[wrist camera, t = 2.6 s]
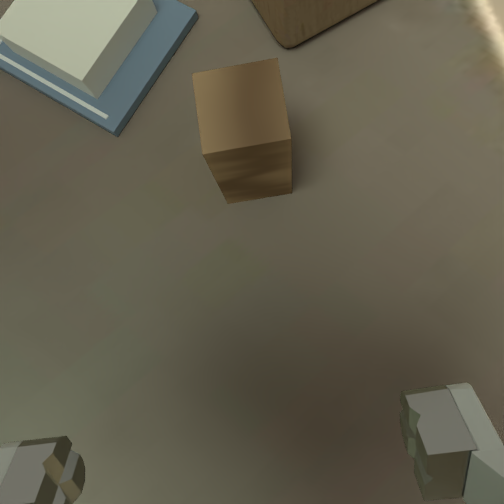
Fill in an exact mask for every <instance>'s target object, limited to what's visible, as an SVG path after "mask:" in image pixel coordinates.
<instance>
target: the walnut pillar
mask: <svg viewBox="0 0 504 504" xmlns="http://www.w3.org/2000/svg"><path fill="white" fill-rule="evenodd" d="M192 78H193V86H194V93H195V101H196V109H197V116H198V124H199V131H200V139H201V146H202V154H203V156H204V158H205V160H206V162H207V164H208V166H209V168H210V170H211V172H212V174H213V176H214V178H215V180H216V182H217V183H218V185H219V187H220V189H221V191H222V193H223V195H224V197H225V199H226V201H227V203H228V204H230V203H236V202H242V201H248V200H254V199H260V198H266V197H272V196H278V195H284V194H290V193H292V152H291V134H290V128H289V122H288V116H287V110H286V105H285V99H284V93H283V87H282V81H281V76H280V70H279V64H278V58H273V59H268V60H262V61H257V62H251V63H246V64H241V65H235V66H230V67H225V68H219V69H214V70H208V71H203V72H198V73H192Z"/></svg>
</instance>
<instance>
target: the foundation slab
mask: <svg viewBox="0 0 504 504" xmlns="http://www.w3.org/2000/svg"><path fill="white" fill-rule="evenodd" d="M156 14H157V10H156V8H155V5H154V3H153V1H152V0H14V2H13V3H12V4H11V6H10V7H9V8H8V10H7V11H6V12H5V14H4V15H3V17H2V18H1V19H0V39H1V40H2V41H3V42H4V43H5V44H6V45H7V46H8V47H9V48H10V49H11V50H12V51H13V52H15V53H16V54H18V55H20V56H22V57H23V58H25V59H27V60H29V61H31V62H32V63H34V64H36V65H38V66H39V67H41V68H43V69H45V70H46V71H48V72H50V73H52V74H53V75H55V76H57V77H59V78H60V79H62V80H64V81H66V82H68V83H69V84H71V85H73V86H75V87H76V88H78V89H80V90H82V91H83V92H85V93H87V94H89V95H90V96H92V97H94V98H96V99H98V98H99V97H100V95H101V94H102V92H103V91H104V89H105V88H106V86H107V85H108V84H109V82H110V81H111V79H112V78H113V76H114V75H115V73H116V72H117V70H118V69H119V68H120V66H121V65H122V63H123V62H124V60H125V59H126V57H127V56H128V54H129V53H130V52H131V50H132V49H133V47H134V46H135V44H136V43H137V41H138V40H139V38H140V37H141V36H142V34H143V33H144V31H145V30H146V28H147V27H148V25H149V24H150V22H151V21H152V20H153V18H154V17H155V15H156Z"/></svg>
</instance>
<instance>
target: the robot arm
mask: <svg viewBox="0 0 504 504" xmlns="http://www.w3.org/2000/svg"><path fill="white" fill-rule="evenodd" d="M400 402H401V405H402V408H403V410H402V411H401V412H400V425H401V432H402V436H403V440H404V444H405V447H406V450H407V453H408V454H409V455H410V456H411V457H413V458H414V474H415V477H416V479H417V482H418V485H419V488H420V491H421V494H422V497H423V500H424V501H430V500H441V499H453V498H463V500H464V501H465V502H466V503H467V504H504V445H503V443H502V441H501V439H500V437H499V435H498V434H497V432H496V430H495V428H494V426H493V424H492V423H491V421H490V419H489V417H488V415H487V413H486V411H485V410H484V408H483V406H482V404H481V402H480V400H479V398H478V397H477V395H476V393H475V391H474V389H473V387H472V386H471V385H470V384H469V383H466V382H465V383H459V384H452V385H445V386H444V385H440V386H433V387H426V388H419V389H413V390H406V391H402V392H401V394H400ZM71 446H72V442H71V441H70V440H69V438H68V437H67V436H61V437H52V438H43V439H34V440H24V441H16V442H8V443H4V444H3V445H2V446H1V447H0V504H73V503H74V501H75V500H76V499H77V498H78V497H79V496H80V494H81V493H82V490H83V486H84V482H85V465H84V461H83V459H82V457H81V456H80V454H78V453H76V452H74V451H72V450H70V449H71Z"/></svg>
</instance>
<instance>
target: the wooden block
mask: <svg viewBox="0 0 504 504" xmlns="http://www.w3.org/2000/svg"><path fill="white" fill-rule="evenodd" d="M376 1H378V0H252V2H253V4H254V5H255V7H256V8H257V10H258V11H259V13H260V15H261V16H262V18H263V19H264V21H265V22H266V24H267V26H268V27H269V29H270V30H271V32H272V34H273V35H274V37H275V38H276V40H277V41H278V42H279V43H280V44H281V45H282V46H284V47H285V48H290V47H294V46H296V45H298V44H300V43H302V42H303V41H305V40H307V39H309V38H311V37H313V36H314V35H316V34H318V33H320V32H322V31H323V30H325V29H327V28H329V27H331V26H333V25H334V24H336V23H338V22H340V21H342V20H343V19H345V18H347V17H349V16H351V15H353V14H354V13H356V12H358V11H360V10H362V9H363V8H365V7H367V6H369V5H371V4H373V3H374V2H376Z"/></svg>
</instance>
